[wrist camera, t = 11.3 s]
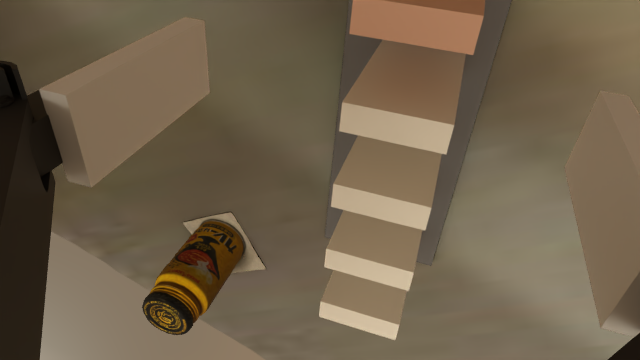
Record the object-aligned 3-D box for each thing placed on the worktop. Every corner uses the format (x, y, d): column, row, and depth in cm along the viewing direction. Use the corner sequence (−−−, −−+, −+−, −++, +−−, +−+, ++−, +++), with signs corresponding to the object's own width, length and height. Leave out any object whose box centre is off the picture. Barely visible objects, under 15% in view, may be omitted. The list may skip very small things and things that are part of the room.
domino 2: (460, 74, 34) (446, 154, 25) (381, 59, 35) (339, 131, 26) (466, 50, 33) (454, 125, 24) (384, 36, 34) (342, 102, 25)
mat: (326, 233, 48) (324, 237, 47) (361, -103, 30) (359, -103, 30) (431, 261, 46) (431, 265, 45) (536, -84, 28) (536, -84, 28)
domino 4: (429, 191, 40) (408, 291, 31) (363, 176, 42) (324, 267, 32) (433, 175, 39) (413, 272, 30) (365, 159, 41) (326, 248, 31)
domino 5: (417, 237, 44) (395, 340, 34) (356, 221, 45) (318, 316, 36) (420, 223, 43) (399, 325, 33) (358, 207, 44) (320, 301, 34)
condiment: (231, 210, 50) (171, 290, 41) (266, 267, 54) (218, 353, 44) (183, 221, 54) (117, 297, 44) (219, 274, 57) (165, 354, 48)
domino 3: (443, 138, 37) (425, 230, 28) (371, 122, 38) (330, 206, 29) (448, 118, 36) (431, 207, 27) (374, 103, 37) (333, 183, 28)
